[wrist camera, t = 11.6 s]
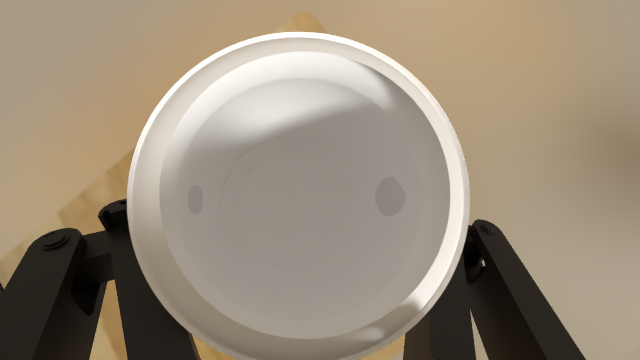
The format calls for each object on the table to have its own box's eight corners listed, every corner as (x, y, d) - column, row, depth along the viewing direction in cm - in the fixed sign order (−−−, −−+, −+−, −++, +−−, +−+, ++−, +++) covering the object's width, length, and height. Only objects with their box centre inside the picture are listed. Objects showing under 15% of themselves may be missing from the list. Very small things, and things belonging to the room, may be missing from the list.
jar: (319, 138, 23) (396, 0, 9) (361, 235, 22) (523, 263, 8) (211, 176, 21) (63, 72, 6) (254, 287, 20) (201, 475, 5)
